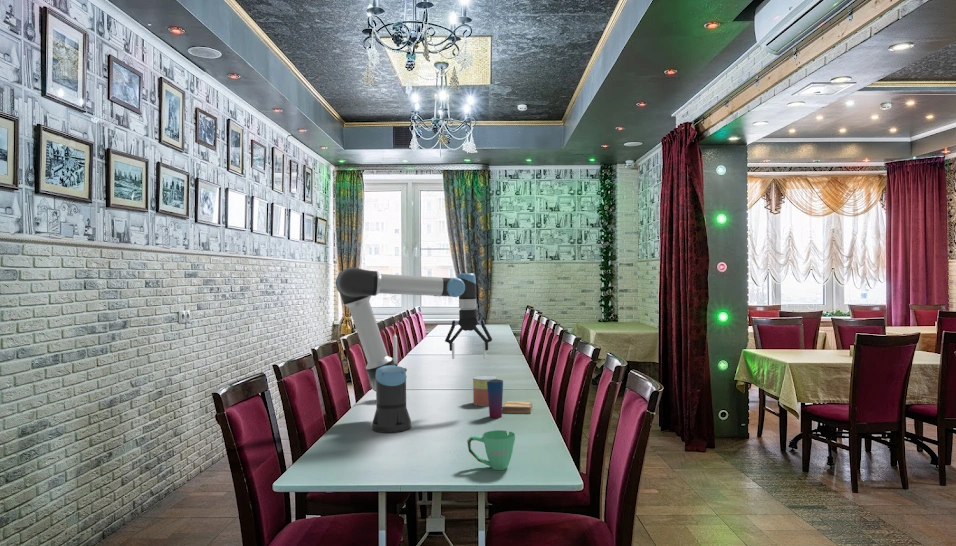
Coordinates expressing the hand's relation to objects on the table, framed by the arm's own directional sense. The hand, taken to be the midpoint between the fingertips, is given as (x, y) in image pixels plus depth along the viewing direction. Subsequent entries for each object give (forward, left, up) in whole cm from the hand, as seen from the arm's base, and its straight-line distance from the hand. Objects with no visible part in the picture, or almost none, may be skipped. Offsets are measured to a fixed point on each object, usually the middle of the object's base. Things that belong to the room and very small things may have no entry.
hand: (469, 358), depth 252 cm
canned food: (+19, -4, -24) cm, 31 cm away
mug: (-73, -19, -24) cm, 79 cm away
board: (+6, -20, -23) cm, 31 cm away
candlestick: (+26, +41, -24) cm, 54 cm away
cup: (-7, -12, -24) cm, 27 cm away
